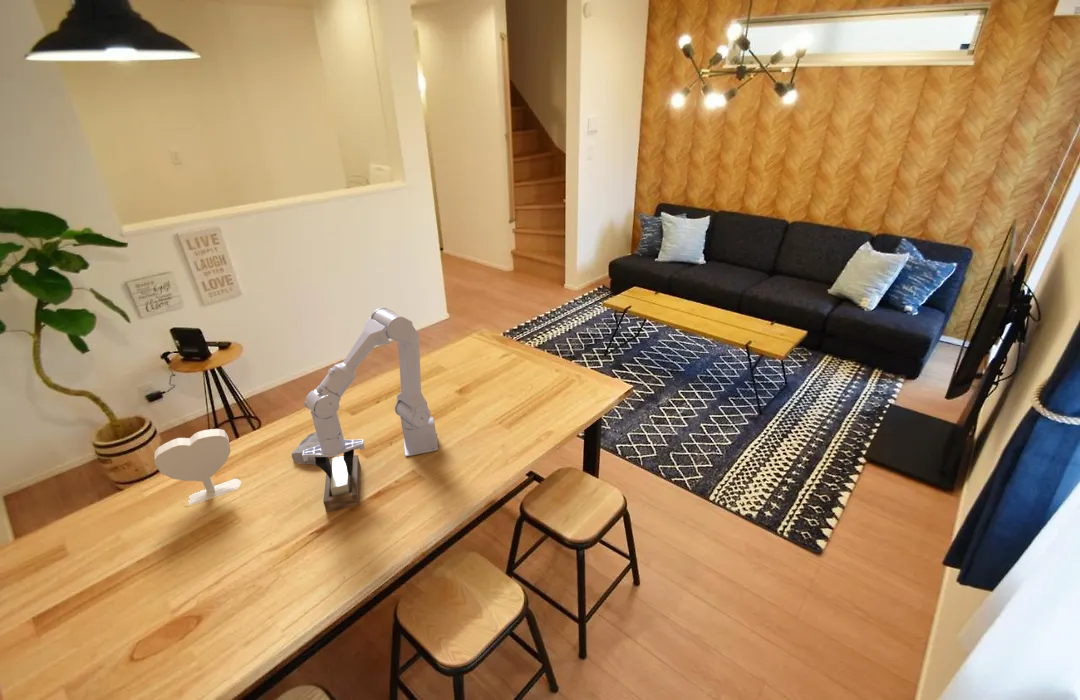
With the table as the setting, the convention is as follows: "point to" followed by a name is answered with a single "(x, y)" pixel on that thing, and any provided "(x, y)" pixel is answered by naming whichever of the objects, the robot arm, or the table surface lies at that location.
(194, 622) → the table surface
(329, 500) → the shallow brown tray
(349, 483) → the rectangular block
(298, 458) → the stone block
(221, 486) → the heart sculpture
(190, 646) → the table surface
